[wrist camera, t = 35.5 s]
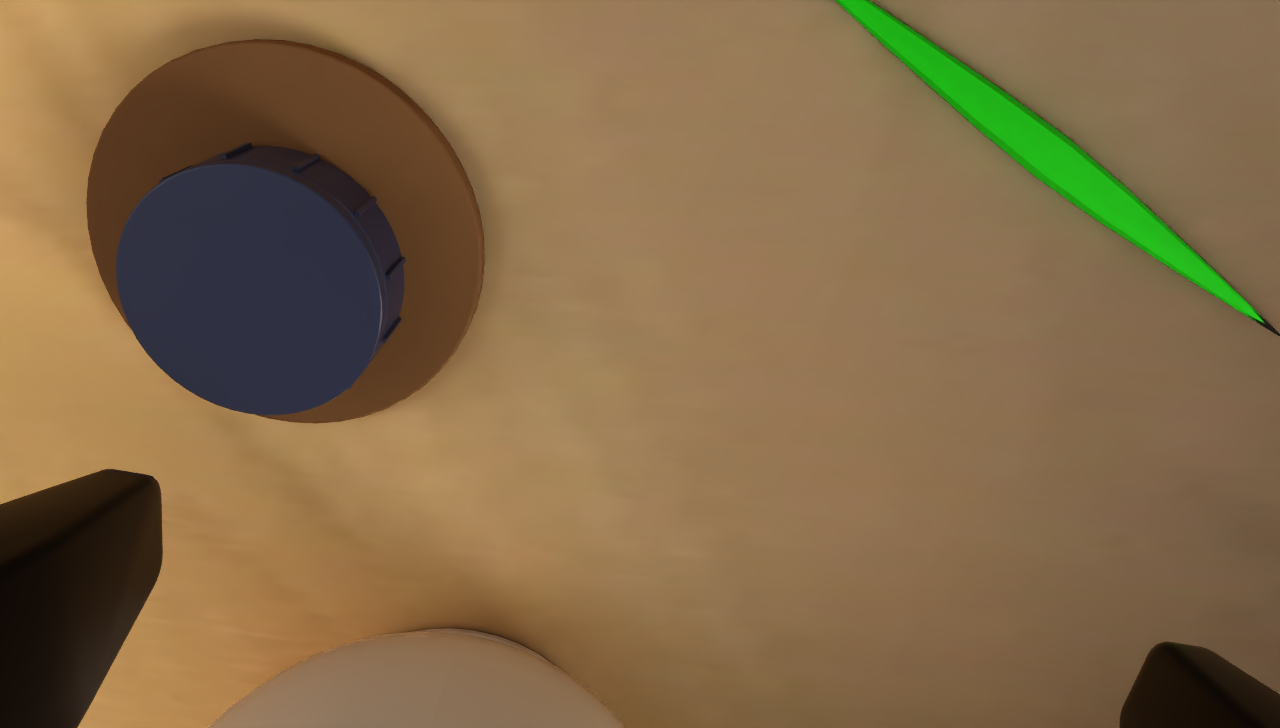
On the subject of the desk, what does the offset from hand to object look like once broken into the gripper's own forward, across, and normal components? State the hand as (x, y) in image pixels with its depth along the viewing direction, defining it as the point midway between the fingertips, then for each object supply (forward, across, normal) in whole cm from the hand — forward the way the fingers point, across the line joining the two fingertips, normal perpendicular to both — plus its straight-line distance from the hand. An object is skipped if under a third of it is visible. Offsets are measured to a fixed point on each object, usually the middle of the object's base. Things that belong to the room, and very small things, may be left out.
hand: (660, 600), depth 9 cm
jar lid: (+10, +8, +2) cm, 13 cm away
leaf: (+13, -7, -3) cm, 15 cm away
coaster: (+12, +8, +2) cm, 14 cm away
